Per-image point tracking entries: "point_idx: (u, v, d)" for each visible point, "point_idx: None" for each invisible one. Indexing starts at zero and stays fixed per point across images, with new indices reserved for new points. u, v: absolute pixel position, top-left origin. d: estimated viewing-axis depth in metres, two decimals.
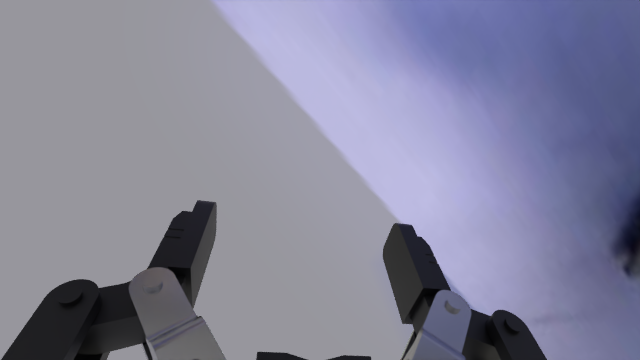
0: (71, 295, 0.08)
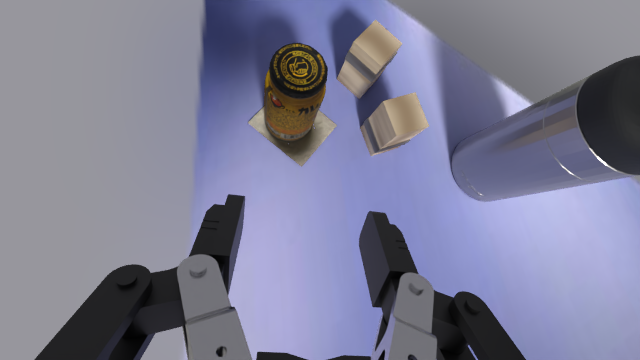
0: (128, 278, 0.09)
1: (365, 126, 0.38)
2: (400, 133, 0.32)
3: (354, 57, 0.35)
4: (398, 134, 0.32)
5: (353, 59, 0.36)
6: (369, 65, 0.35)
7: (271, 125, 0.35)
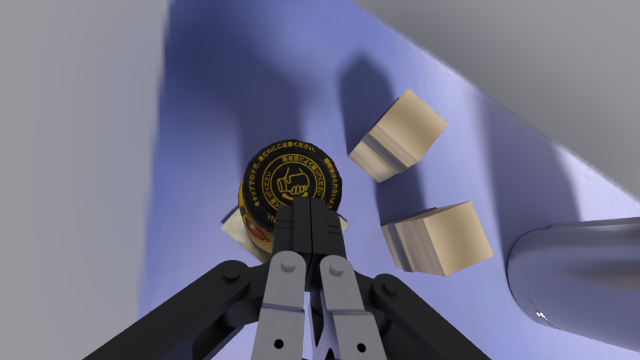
0: (232, 273, 0.10)
1: (389, 230, 0.27)
2: (451, 271, 0.21)
3: (375, 141, 0.24)
4: (448, 273, 0.21)
5: (374, 143, 0.24)
6: (398, 155, 0.23)
7: (253, 240, 0.23)
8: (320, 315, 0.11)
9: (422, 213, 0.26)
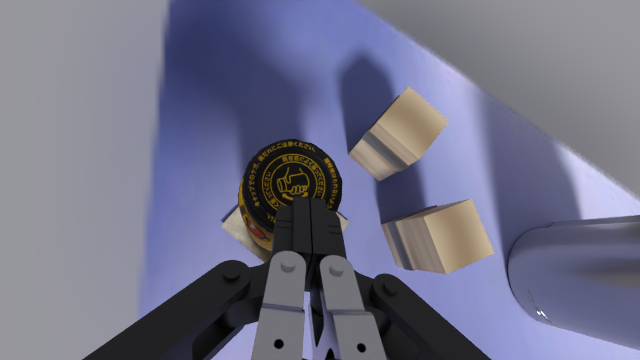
0: (232, 273, 0.10)
1: (390, 228, 0.27)
2: (452, 269, 0.21)
3: (376, 139, 0.24)
4: (449, 271, 0.20)
5: (375, 141, 0.24)
6: (399, 153, 0.23)
7: (253, 238, 0.23)
8: (320, 315, 0.11)
9: (423, 211, 0.26)
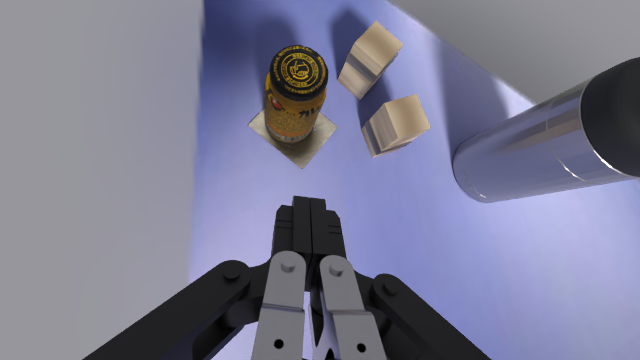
0: (232, 273, 0.10)
1: (366, 128, 0.38)
2: (402, 135, 0.32)
3: (354, 58, 0.35)
4: (400, 136, 0.32)
5: (354, 61, 0.35)
6: (369, 67, 0.34)
7: (271, 127, 0.35)
8: (320, 315, 0.11)
9: None
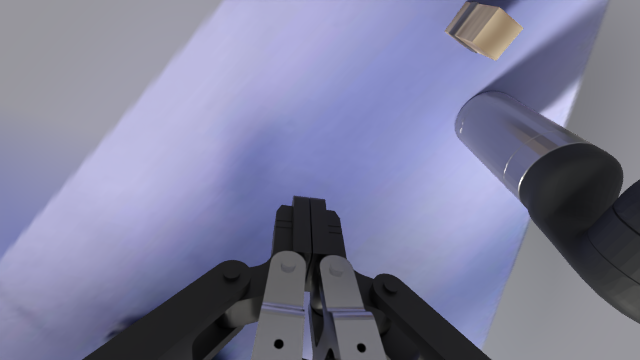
0: (232, 273, 0.10)
1: (469, 6, 0.38)
2: (476, 43, 0.35)
3: None
4: (474, 42, 0.35)
5: None
6: None
7: None
8: (320, 315, 0.11)
9: None
